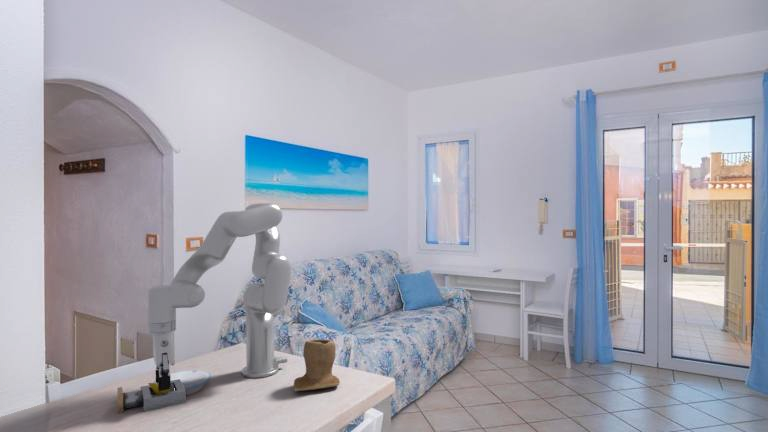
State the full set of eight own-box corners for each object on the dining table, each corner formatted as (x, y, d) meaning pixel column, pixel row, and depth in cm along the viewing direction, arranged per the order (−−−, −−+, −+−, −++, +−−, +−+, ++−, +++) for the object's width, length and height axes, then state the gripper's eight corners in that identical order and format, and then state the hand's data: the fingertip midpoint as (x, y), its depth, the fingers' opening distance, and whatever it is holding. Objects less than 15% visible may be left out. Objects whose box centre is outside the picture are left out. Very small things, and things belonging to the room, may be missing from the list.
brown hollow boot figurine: (334, 376, 150) (334, 333, 150) (342, 390, 139) (342, 343, 139) (290, 382, 145) (289, 337, 145) (294, 396, 134) (293, 348, 134)
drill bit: (178, 401, 132) (152, 388, 126) (165, 407, 133) (138, 394, 127) (182, 385, 136) (157, 371, 130) (169, 390, 137) (144, 377, 131)
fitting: (180, 390, 140) (179, 372, 140) (185, 402, 130) (185, 383, 130) (117, 403, 130) (117, 384, 130) (118, 417, 121) (118, 397, 121)
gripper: (180, 331, 127) (180, 392, 127) (172, 319, 141) (172, 374, 141) (151, 335, 123) (151, 398, 123) (145, 322, 137) (146, 379, 137)
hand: (163, 385), depth 132 cm, fingers open, 6 cm apart
